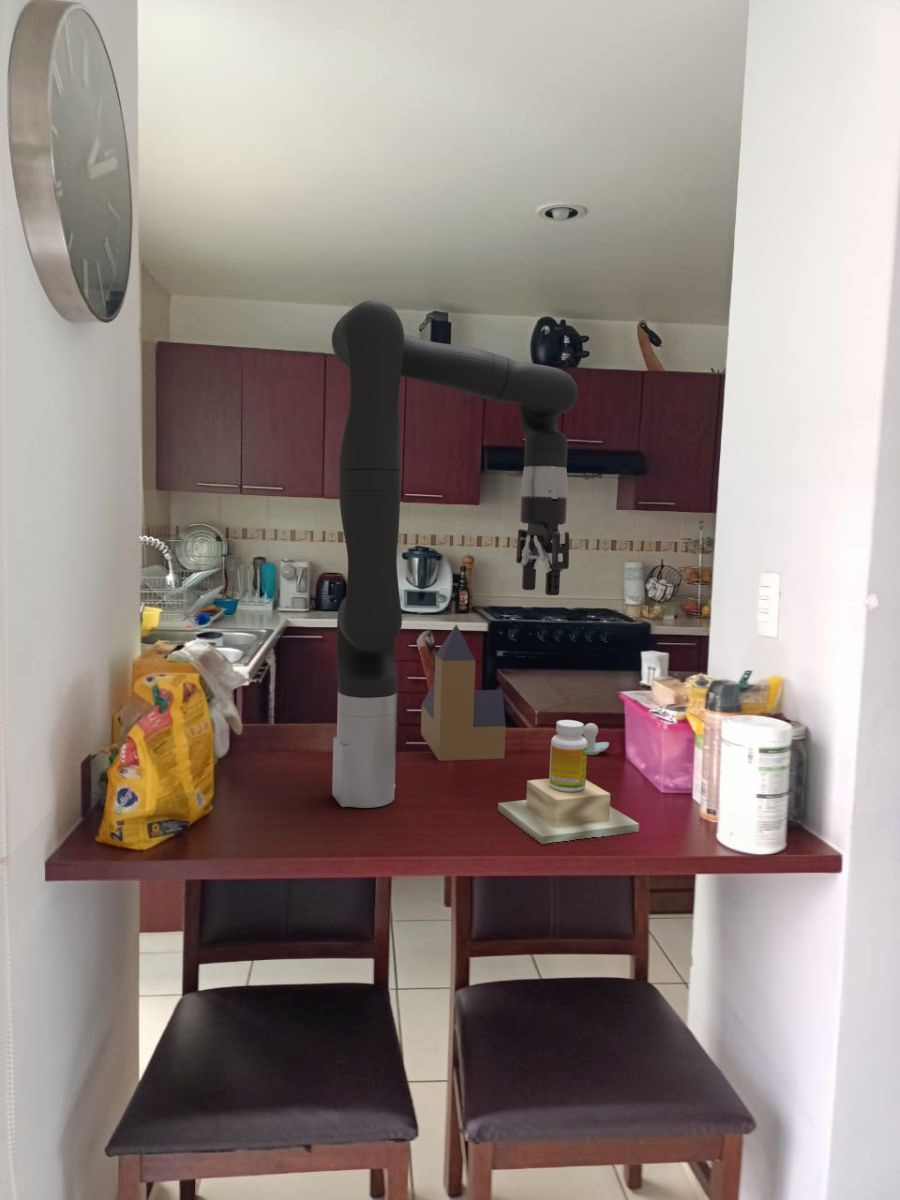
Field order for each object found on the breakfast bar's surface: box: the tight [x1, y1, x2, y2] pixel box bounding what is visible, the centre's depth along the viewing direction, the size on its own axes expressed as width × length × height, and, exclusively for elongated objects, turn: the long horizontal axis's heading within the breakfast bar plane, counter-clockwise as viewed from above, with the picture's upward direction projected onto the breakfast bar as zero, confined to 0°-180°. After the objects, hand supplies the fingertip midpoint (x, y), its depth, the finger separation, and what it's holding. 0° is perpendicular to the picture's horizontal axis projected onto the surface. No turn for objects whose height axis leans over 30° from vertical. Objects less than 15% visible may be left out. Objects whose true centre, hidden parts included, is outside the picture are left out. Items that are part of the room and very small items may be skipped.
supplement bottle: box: [548, 719, 588, 792], centre depth 123 cm, size 5×5×10 cm
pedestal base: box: [497, 778, 640, 845], centre depth 123 cm, size 16×14×5 cm
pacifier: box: [582, 722, 610, 756], centre depth 160 cm, size 7×6×6 cm
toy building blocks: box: [420, 624, 507, 762], centre depth 161 cm, size 12×19×25 cm
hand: (540, 592), depth 138 cm, fingers open, 8 cm apart
